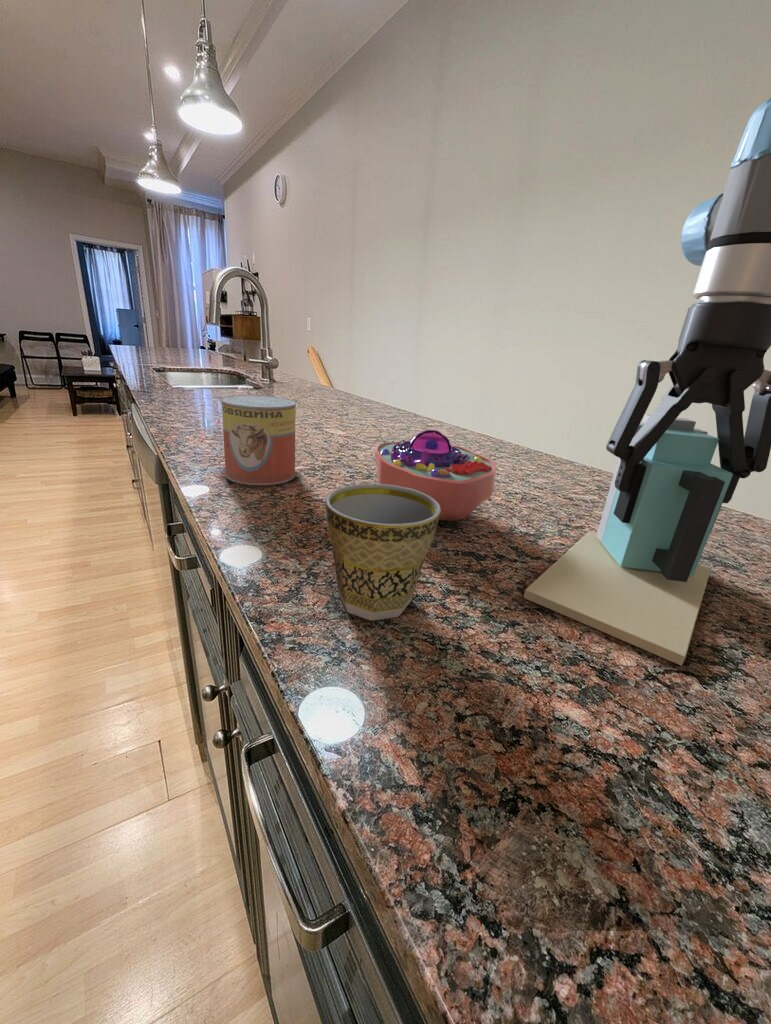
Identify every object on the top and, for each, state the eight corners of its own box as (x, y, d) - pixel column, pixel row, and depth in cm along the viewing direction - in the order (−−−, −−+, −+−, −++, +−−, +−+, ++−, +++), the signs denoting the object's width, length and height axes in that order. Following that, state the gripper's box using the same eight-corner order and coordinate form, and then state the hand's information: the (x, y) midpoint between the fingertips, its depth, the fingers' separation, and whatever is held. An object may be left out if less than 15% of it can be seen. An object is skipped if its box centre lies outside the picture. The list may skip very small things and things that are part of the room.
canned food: (213, 481, 69) (208, 402, 64) (238, 462, 79) (236, 392, 75) (286, 488, 69) (286, 409, 64) (301, 467, 79) (302, 399, 75)
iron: (630, 413, 53) (685, 434, 41) (701, 420, 52) (776, 443, 40) (595, 536, 58) (634, 584, 47) (658, 543, 58) (713, 594, 46)
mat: (587, 536, 61) (589, 530, 61) (708, 575, 53) (711, 568, 53) (523, 597, 45) (524, 589, 45) (681, 666, 37) (685, 656, 37)
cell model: (369, 538, 55) (376, 448, 51) (369, 485, 73) (374, 416, 69) (504, 546, 56) (522, 459, 52) (470, 493, 74) (481, 425, 70)
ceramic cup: (402, 647, 36) (416, 536, 33) (300, 609, 40) (301, 505, 36) (449, 578, 47) (463, 489, 44) (366, 553, 51) (372, 469, 47)
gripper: (821, 315, 45) (736, 521, 53) (609, 297, 46) (559, 500, 55) (891, 311, 38) (780, 549, 47) (639, 290, 40) (576, 524, 48)
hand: (660, 522), depth 51 cm, fingers closed on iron, 8 cm apart
